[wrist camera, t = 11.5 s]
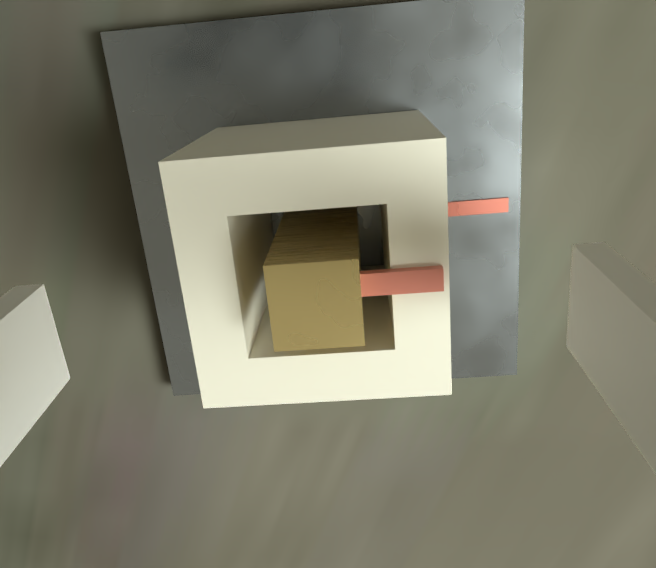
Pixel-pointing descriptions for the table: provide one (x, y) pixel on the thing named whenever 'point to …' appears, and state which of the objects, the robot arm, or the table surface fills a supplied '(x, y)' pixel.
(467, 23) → the base plate
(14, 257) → the table surface
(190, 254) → the cream open box
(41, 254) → the table surface
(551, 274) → the table surface
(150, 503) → the table surface
